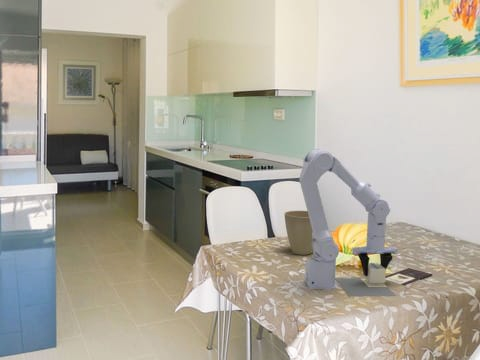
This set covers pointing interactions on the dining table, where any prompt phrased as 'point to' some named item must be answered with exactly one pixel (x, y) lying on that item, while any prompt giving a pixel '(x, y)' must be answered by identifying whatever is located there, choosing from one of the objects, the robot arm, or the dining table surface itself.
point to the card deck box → (376, 273)
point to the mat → (363, 287)
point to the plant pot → (299, 231)
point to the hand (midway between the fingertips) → (373, 275)
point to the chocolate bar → (407, 276)
